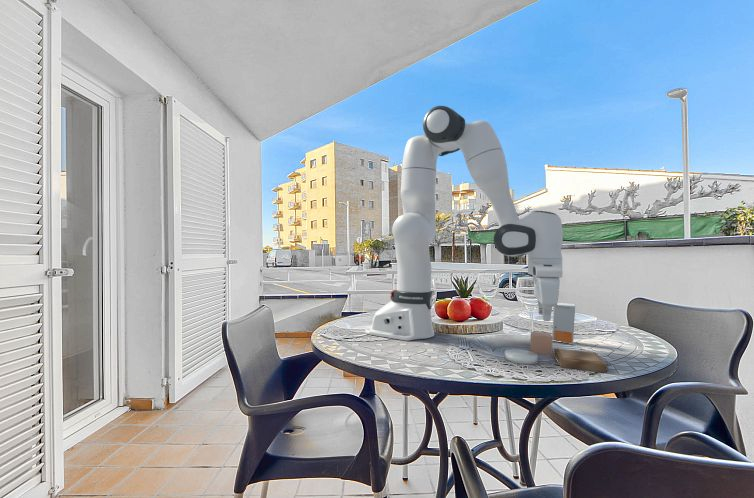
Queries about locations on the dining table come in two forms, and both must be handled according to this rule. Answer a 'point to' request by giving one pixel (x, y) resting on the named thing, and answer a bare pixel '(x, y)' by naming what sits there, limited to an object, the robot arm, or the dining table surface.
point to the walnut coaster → (580, 360)
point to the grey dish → (521, 356)
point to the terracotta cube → (541, 343)
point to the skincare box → (563, 322)
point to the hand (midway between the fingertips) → (544, 317)
